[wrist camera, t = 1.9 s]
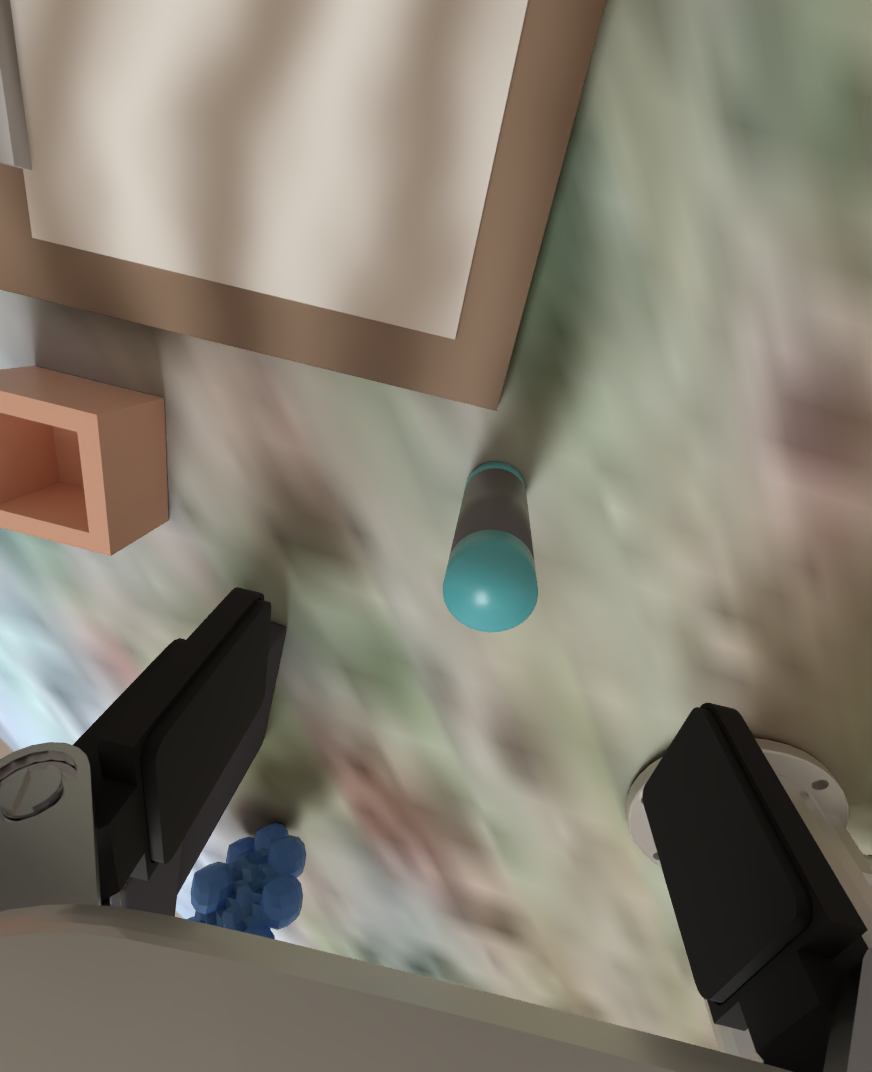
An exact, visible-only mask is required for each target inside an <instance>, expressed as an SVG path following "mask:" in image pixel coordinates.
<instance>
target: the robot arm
mask: <svg viewBox="0 0 872 1072" xmlns="http://www.w3.org/2000/svg"><path fill="white" fill-rule="evenodd" d="M270 615H271V604H270V602H267V601H264V595H263V594H262V593H259V592H255V591H251V590H247V589H242V588H238V587H237V588H234V589H233V590H232V591H231V592H230V593H229V594H228V595H227V596H226V597H225V598H224V600H223V601H222V602H221V603H220V604H219V605H218V606H217V607H216V608H215V609H214V610H213V612H212V613H211V614H210V615H209V616H208V617H207V618H206V619H205V620H204V621H203V622H202V623H201V625H200V626H199V627H198V628H197V629H196V630H195V631H194V632H193V633H192V634H191V635H190V636H189V638H188V639H187V640H185V639H181V638H179V639H177V640H174V641H173V642H172V643H171V644H169V645H168V646H167V647H166V648H165V649H164V650H163V652H162V653H161V654H160V655H159V656H158V657H157V658H156V659H155V660H154V661H153V662H152V663H151V664H150V665H149V666H148V667H147V668H146V669H145V670H144V671H143V672H142V673H141V674H140V676H139V677H138V678H137V679H136V680H135V681H134V682H133V683H132V684H131V685H130V686H129V687H128V688H127V689H126V690H125V691H124V692H123V693H122V694H121V695H120V696H119V697H118V698H117V699H116V701H115V702H114V703H113V704H112V705H111V706H110V707H109V708H108V709H107V710H106V711H105V712H104V713H103V714H102V715H101V716H100V717H99V718H98V719H97V720H96V721H95V722H94V723H93V725H92V726H91V727H90V728H89V729H88V730H87V731H86V732H85V733H84V734H83V735H82V736H81V737H80V738H79V739H78V740H77V741H76V742H75V743H74V744H73V745H70V744H67V743H54V742H49V743H43V744H37V745H31V746H29V747H26V748H23V749H20V750H18V751H15V752H12V753H11V754H9V755H7V756H5V757H4V758H2V759H0V1072H872V855H865V854H863V853H862V852H861V851H860V849H859V848H858V846H857V845H856V843H855V842H854V840H853V839H852V837H851V836H850V834H849V833H848V831H847V830H846V825H847V822H848V811H849V806H848V803H847V800H846V797H845V793H844V792H843V790H842V789H841V787H840V786H839V784H838V783H837V781H836V780H835V778H834V777H833V775H832V774H831V773H830V772H829V771H828V770H827V768H826V767H825V766H824V765H823V764H822V763H821V762H819V761H818V760H816V759H815V758H814V757H812V756H811V755H809V754H808V753H806V752H804V751H801V750H799V749H797V748H795V747H792V746H790V745H787V744H783V743H779V742H775V741H771V740H766V739H757V738H754V736H753V735H752V733H751V731H750V730H749V728H748V726H747V724H746V723H745V721H744V719H743V718H742V716H741V715H740V713H739V712H738V711H737V710H735V709H732V708H728V707H724V706H720V705H716V704H711V703H705V704H703V705H702V706H701V707H700V708H698V707H696V708H694V709H693V710H692V711H691V713H690V714H689V716H688V718H687V719H686V721H685V722H684V724H683V725H682V727H681V729H680V730H679V732H678V733H677V735H676V737H675V738H674V740H673V741H672V743H671V744H670V746H669V748H668V749H667V751H666V752H665V754H664V756H663V757H661V758H659V759H658V760H656V761H655V762H653V763H652V764H650V765H649V766H648V767H647V768H646V769H645V770H644V771H643V772H642V773H641V774H640V775H639V776H638V777H637V779H636V780H635V782H634V783H633V785H632V786H631V788H630V790H629V793H628V796H627V799H626V810H625V813H626V817H627V822H628V827H629V830H630V833H631V836H632V838H633V841H634V842H635V844H636V845H637V846H638V848H639V849H640V850H641V852H642V853H643V854H644V855H645V856H646V857H648V858H649V859H650V860H651V861H652V862H654V863H656V864H657V865H659V866H661V867H662V870H663V874H664V877H665V881H666V884H667V887H668V891H669V894H670V898H671V901H672V905H673V908H674V911H675V915H676V918H677V922H678V925H679V929H680V932H681V936H682V939H683V942H684V946H685V949H686V953H687V956H688V960H689V963H690V966H691V970H692V973H693V977H694V980H695V983H696V986H697V989H698V991H699V993H700V994H701V996H702V997H703V998H704V1000H705V1004H706V1007H707V1011H708V1014H709V1018H710V1021H711V1025H712V1028H713V1031H714V1035H715V1038H716V1042H717V1045H718V1049H719V1051H716V1050H712V1049H708V1048H704V1047H700V1046H696V1045H692V1044H688V1043H685V1042H681V1041H677V1040H673V1039H669V1038H665V1037H661V1036H657V1035H654V1034H650V1033H646V1032H642V1031H638V1030H634V1029H630V1028H626V1027H622V1026H619V1025H615V1024H611V1023H607V1022H603V1021H599V1020H595V1019H591V1018H588V1017H584V1016H580V1015H576V1014H572V1013H568V1012H564V1011H560V1010H556V1009H552V1008H548V1007H544V1006H540V1005H536V1004H532V1003H528V1002H524V1001H520V1000H516V999H512V998H508V997H504V996H501V995H497V994H493V993H489V992H485V991H481V990H477V989H473V988H469V987H465V986H461V985H457V984H453V983H449V982H445V981H441V980H437V979H433V978H429V977H425V976H421V975H417V974H413V973H409V972H405V971H401V970H397V969H393V968H389V967H384V966H380V965H376V964H372V963H368V962H364V961H360V960H356V959H352V958H348V957H344V956H340V955H336V954H332V953H327V952H323V951H319V950H315V949H311V948H307V947H303V946H299V945H295V944H291V943H287V942H283V941H279V940H275V939H270V938H266V937H262V936H258V935H254V934H249V933H245V932H240V931H236V930H231V929H227V928H222V927H218V926H214V925H209V924H205V923H200V922H196V921H191V920H187V919H182V918H178V917H173V916H169V915H164V914H158V913H152V912H146V911H140V910H134V909H128V908H122V907H115V906H112V896H113V895H115V894H117V893H119V892H120V891H121V889H122V888H123V886H124V884H125V883H126V881H127V880H128V878H129V877H133V878H137V879H141V880H145V881H149V879H150V877H151V876H152V874H153V872H154V871H155V869H156V867H157V866H158V864H159V862H160V863H164V864H167V863H168V862H169V861H170V860H171V859H172V858H173V856H174V855H175V853H176V851H177V850H178V848H179V846H180V844H181V843H182V841H183V839H184V838H185V836H186V834H187V832H188V831H189V829H190V827H191V826H192V824H193V822H194V820H195V819H196V817H197V815H198V814H199V812H200V810H201V809H202V807H203V805H204V803H205V802H206V800H207V798H208V797H209V795H210V793H211V791H212V790H213V788H214V786H215V785H216V783H217V781H218V779H219V778H220V776H221V774H222V773H223V771H224V769H225V767H226V766H227V764H228V762H229V761H230V759H231V757H232V755H233V754H234V752H235V750H236V749H237V747H238V745H239V743H240V742H241V740H242V738H243V737H244V735H245V733H246V732H247V730H248V728H249V726H250V725H251V723H252V721H253V720H254V718H255V716H256V714H257V713H258V711H259V709H260V707H261V705H262V703H263V700H264V696H265V691H266V675H267V660H268V645H269V630H270Z"/></svg>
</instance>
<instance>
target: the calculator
mask: <svg viewBox="0 0 872 1072" xmlns="http://www.w3.org/2000/svg"><path fill="white" fill-rule="evenodd" d="M285 634H286V628H285V627H283V626H280V625H277V624H274V623H271V622H270V630H269V645H268V660H267V675H266V691H265V696H264V700H263V703H262V705H261V707H260V709H259V711H258V713H257V714H256V716H255V718H254V720H253V721H252V723H251V725H250V726H249V728H248V730H247V732H246V733H245V735H244V737H243V738H242V740H241V742H240V743H239V745H238V747H237V749H236V750H235V752H234V754H233V755H232V757H231V759H230V761H229V762H228V764H227V766H226V767H225V769H224V771H223V773H222V774H221V776H220V778H219V779H218V781H217V783H216V785H215V786H214V788H213V790H212V791H211V793H210V795H209V797H208V798H207V800H206V802H205V803H204V805H203V807H202V809H201V810H200V812H199V814H198V815H197V817H196V819H195V820H194V822H193V824H192V826H191V827H190V829H189V831H188V832H187V834H186V836H185V838H184V839H183V841H182V843H181V844H180V846H179V848H178V850H177V851H176V853H175V855H174V856H173V858H172V859H171V860H170V861H169V862H168V863H167V864H164V863H160V862H159V864H158V866H157V867H156V869H155V871H154V872H153V874H152V876H151V877H150V879H149V881H145V880H141V879H137V878H133V877H129V878H128V880H127V881H126V883H125V884H124V886H123V888H122V889H121V891H120V892H119V893H117V894H115V895H113V896H112V906H115V907H122V908H128V909H134V910H140V911H146V912H152V913H158V914H164V915H169V916H173V917H175V908H176V900H177V894H178V893H179V891H180V889H181V887H182V885H183V884H184V882H185V880H186V878H187V876H188V875H189V873H190V871H191V869H192V868H193V866H194V864H195V862H196V861H197V859H198V857H199V855H200V853H201V852H202V850H203V848H204V846H205V845H206V843H207V841H208V839H209V838H210V836H211V834H212V832H213V830H214V829H215V827H216V825H217V823H218V822H219V820H220V818H221V816H222V815H223V813H224V811H225V809H226V807H227V806H228V804H229V802H230V800H231V799H232V797H233V795H234V793H235V791H236V790H237V788H238V786H239V784H240V783H241V781H242V779H243V777H244V776H245V774H246V772H247V770H248V768H249V767H250V765H251V763H252V761H253V760H254V758H255V756H256V754H257V753H258V751H259V749H260V747H261V745H262V743H263V740H264V735H265V731H266V726H267V721H268V716H269V711H270V706H271V702H272V697H273V692H274V687H275V682H276V677H277V673H278V668H279V663H280V658H281V653H282V648H283V644H284V639H285Z"/></svg>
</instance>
